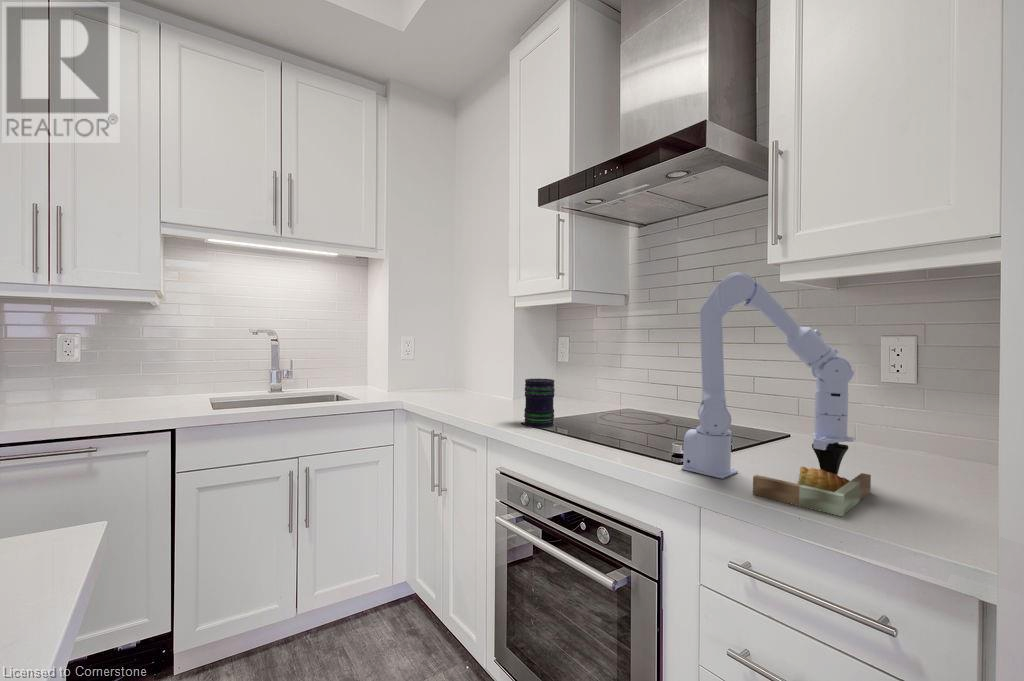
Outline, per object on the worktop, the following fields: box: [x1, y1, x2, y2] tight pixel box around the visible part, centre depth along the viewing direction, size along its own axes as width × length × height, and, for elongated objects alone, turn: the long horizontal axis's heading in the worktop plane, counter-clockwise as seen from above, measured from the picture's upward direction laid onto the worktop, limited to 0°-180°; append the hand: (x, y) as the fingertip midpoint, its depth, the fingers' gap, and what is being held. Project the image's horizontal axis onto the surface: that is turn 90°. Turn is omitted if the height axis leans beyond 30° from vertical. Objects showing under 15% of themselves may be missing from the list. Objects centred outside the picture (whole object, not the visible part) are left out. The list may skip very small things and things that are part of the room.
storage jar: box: [523, 378, 556, 429], centre depth 158 cm, size 10×10×15 cm
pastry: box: [796, 466, 851, 492], centre depth 97 cm, size 9×7×4 cm
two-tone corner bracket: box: [752, 472, 872, 517], centre depth 93 cm, size 14×20×4 cm
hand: (829, 478), depth 99 cm, fingers closed
